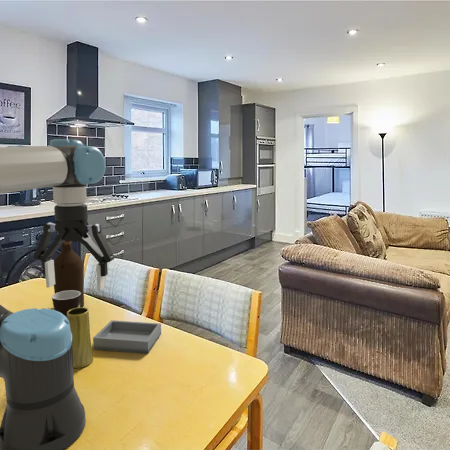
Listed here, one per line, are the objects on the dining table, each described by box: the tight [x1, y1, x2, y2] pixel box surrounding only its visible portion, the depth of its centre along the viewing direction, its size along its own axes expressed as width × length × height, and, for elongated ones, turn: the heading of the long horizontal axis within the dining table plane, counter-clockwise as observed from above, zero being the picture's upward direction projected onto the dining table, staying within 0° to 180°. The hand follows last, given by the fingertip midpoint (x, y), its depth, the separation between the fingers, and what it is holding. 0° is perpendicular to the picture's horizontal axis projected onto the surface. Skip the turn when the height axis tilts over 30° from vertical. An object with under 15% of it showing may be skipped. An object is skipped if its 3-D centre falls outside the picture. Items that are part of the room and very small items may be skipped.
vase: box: [67, 306, 94, 369], centre depth 96 cm, size 6×6×14 cm
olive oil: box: [53, 241, 85, 308], centre depth 133 cm, size 11×11×25 cm
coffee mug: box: [51, 290, 81, 317], centre depth 121 cm, size 12×9×10 cm
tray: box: [92, 319, 162, 355], centre depth 109 cm, size 12×16×4 cm
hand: (76, 287), depth 94 cm, fingers open, 13 cm apart
